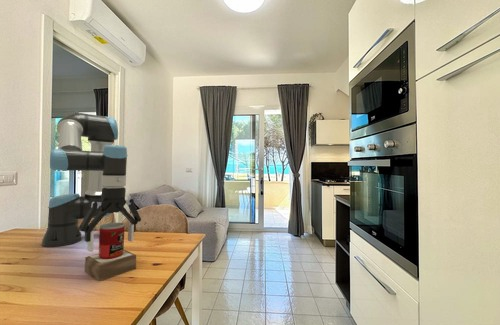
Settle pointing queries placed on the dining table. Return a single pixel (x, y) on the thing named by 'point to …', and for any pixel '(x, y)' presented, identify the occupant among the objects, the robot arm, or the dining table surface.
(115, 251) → the canned food
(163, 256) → the dining table surface
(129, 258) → the base block
